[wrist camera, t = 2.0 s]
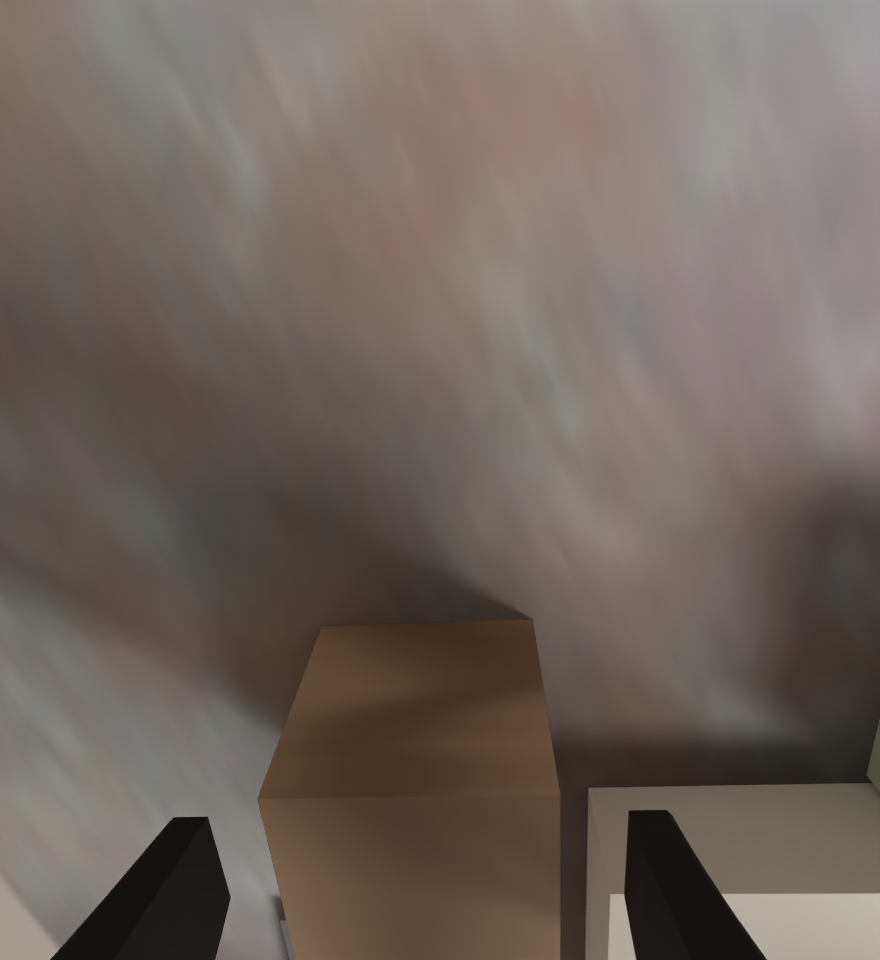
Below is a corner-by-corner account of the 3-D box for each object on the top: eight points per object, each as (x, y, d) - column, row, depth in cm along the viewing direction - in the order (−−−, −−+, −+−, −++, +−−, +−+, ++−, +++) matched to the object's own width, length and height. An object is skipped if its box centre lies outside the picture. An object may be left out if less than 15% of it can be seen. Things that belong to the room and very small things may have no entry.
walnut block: (532, 616, 13) (559, 794, 9) (535, 777, 15) (560, 989, 11) (322, 624, 14) (257, 799, 9) (348, 780, 15) (302, 988, 11)
